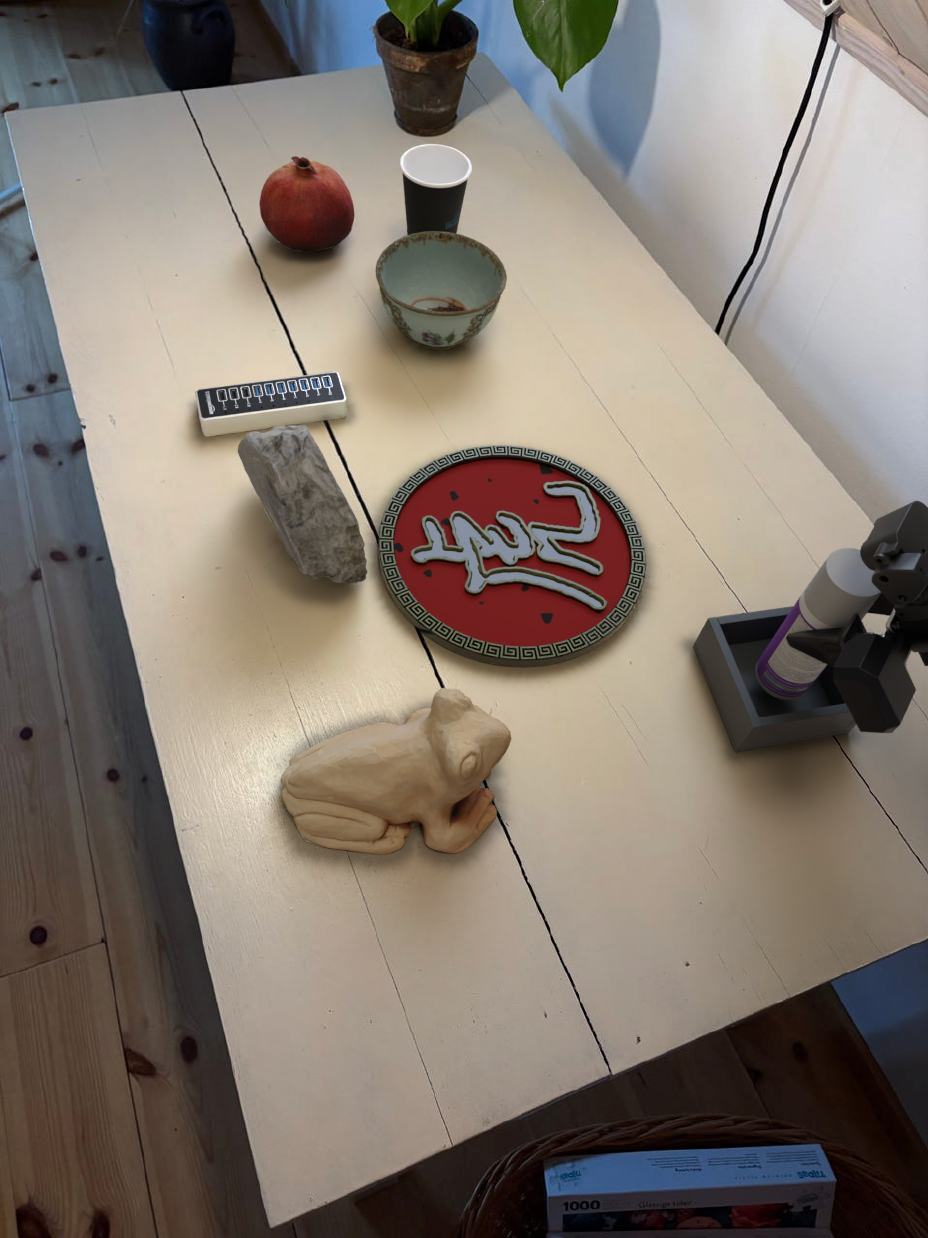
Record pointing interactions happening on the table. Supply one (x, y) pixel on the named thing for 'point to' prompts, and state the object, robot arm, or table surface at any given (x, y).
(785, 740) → the storage bin
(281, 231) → the fruit
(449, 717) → the figurine
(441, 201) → the dixie cup
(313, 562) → the decorative rock
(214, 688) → the table surface
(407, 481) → the decorative plate
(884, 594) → the robot arm
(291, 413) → the multiport hub
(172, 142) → the table surface
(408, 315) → the bowl
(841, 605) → the container
